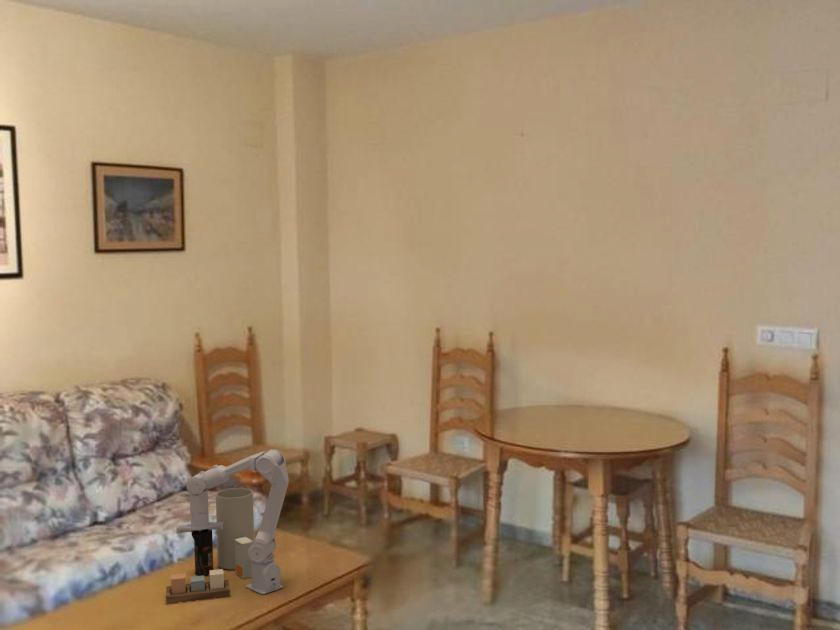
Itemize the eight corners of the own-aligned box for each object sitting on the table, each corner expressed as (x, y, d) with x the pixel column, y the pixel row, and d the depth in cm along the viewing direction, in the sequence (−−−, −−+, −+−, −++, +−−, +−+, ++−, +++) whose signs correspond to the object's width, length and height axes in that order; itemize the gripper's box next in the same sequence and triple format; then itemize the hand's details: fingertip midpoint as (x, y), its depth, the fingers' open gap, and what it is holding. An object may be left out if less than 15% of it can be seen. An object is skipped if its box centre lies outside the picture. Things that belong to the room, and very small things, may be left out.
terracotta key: (185, 592, 256) (185, 577, 255) (171, 594, 254) (171, 579, 254) (185, 587, 260) (185, 573, 259) (171, 589, 258) (171, 574, 258)
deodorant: (208, 576, 274) (207, 532, 273) (191, 575, 275) (190, 531, 274) (216, 570, 280) (215, 526, 279) (200, 569, 281) (198, 525, 280)
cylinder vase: (262, 561, 287) (260, 491, 286) (236, 573, 277) (234, 500, 275) (236, 555, 294) (234, 486, 292) (209, 566, 283) (207, 494, 282)
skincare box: (235, 574, 276) (234, 539, 275) (246, 571, 279) (245, 536, 278) (242, 579, 271) (242, 543, 270) (254, 576, 274) (254, 541, 273)
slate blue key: (205, 594, 257) (204, 580, 257) (191, 596, 256) (190, 581, 256) (204, 589, 261) (204, 575, 261) (191, 591, 260) (190, 576, 260)
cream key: (224, 587, 259) (223, 573, 258) (210, 589, 258) (209, 575, 257) (223, 583, 263) (222, 568, 262) (209, 584, 262) (209, 570, 261)
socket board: (229, 596, 257) (229, 589, 257) (166, 604, 252) (166, 597, 252) (228, 586, 266) (228, 579, 266) (166, 593, 260) (166, 586, 260)
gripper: (221, 505, 272) (222, 546, 273) (175, 510, 268) (177, 551, 269) (222, 512, 265) (224, 553, 266) (175, 516, 261) (177, 558, 262)
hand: (200, 552), depth 267 cm, fingers closed
